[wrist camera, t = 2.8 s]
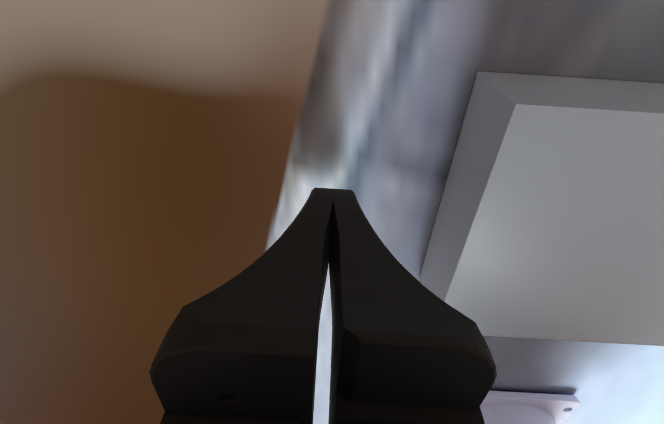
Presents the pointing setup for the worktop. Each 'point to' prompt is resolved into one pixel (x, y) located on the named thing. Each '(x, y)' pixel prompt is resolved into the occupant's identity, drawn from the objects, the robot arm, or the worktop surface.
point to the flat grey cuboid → (555, 211)
